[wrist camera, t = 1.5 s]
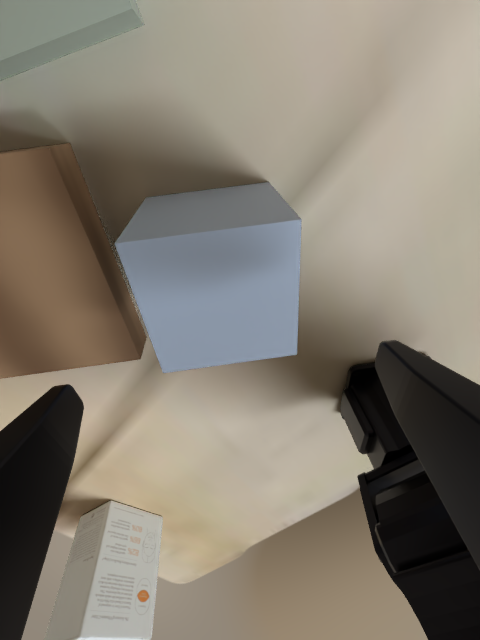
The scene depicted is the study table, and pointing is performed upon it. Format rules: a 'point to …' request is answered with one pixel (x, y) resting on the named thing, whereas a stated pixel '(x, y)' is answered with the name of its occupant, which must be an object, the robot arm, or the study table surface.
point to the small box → (109, 577)
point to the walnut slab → (58, 271)
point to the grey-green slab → (58, 29)
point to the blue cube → (215, 275)
